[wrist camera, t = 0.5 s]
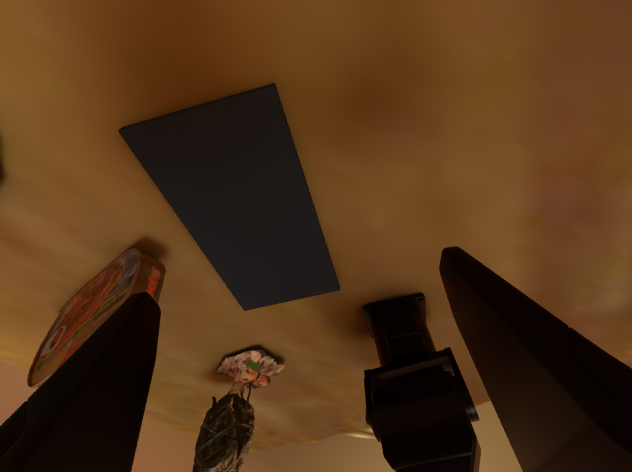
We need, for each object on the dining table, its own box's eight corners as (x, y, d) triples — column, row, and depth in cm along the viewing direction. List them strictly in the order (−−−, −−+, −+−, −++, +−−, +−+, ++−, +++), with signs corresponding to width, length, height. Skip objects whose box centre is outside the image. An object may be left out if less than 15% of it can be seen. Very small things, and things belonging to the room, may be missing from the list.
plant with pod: (187, 366, 41) (135, 605, 26) (264, 340, 38) (255, 591, 24) (226, 388, 46) (201, 599, 32) (297, 366, 44) (305, 586, 29)
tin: (149, 229, 26) (108, 322, 20) (183, 250, 28) (155, 341, 22) (57, 308, 32) (3, 399, 25) (90, 321, 33) (47, 409, 27)
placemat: (339, 286, 33) (340, 290, 32) (244, 307, 34) (244, 311, 33) (274, 82, 19) (274, 85, 19) (120, 127, 20) (117, 131, 20)
